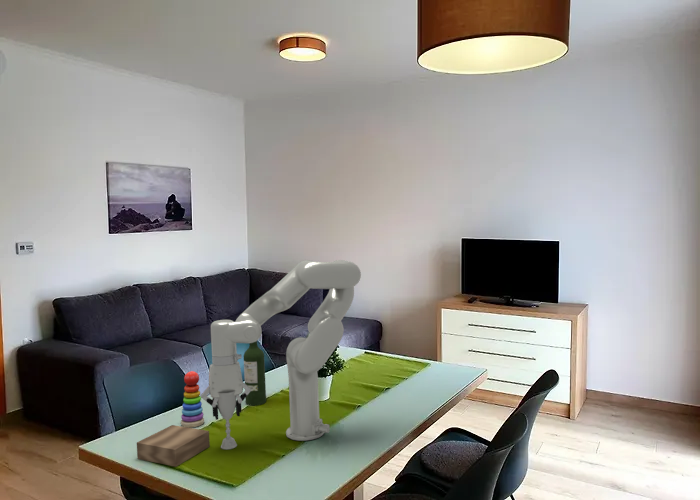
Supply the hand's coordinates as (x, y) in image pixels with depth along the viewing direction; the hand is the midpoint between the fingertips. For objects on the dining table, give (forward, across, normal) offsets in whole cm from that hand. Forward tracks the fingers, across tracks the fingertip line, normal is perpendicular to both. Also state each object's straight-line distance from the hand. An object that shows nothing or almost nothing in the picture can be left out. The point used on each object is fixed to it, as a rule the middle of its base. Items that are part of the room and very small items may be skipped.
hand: (227, 416), depth 172 cm
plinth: (+10, +16, -2) cm, 19 cm away
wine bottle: (+10, -16, -38) cm, 42 cm away
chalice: (+10, 0, 0) cm, 10 cm away
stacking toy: (+10, +9, -25) cm, 28 cm away
